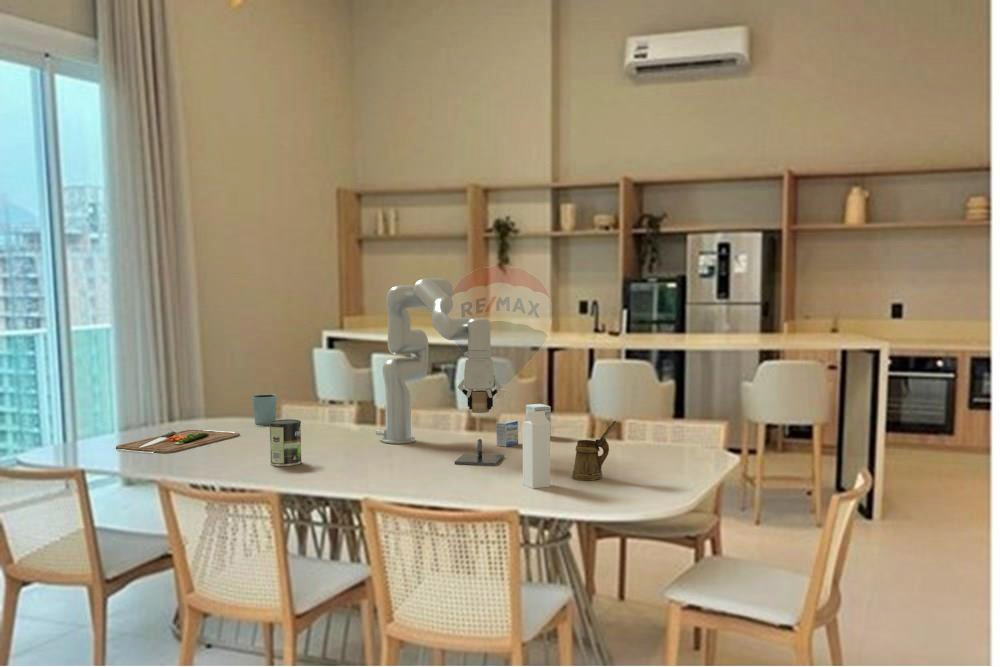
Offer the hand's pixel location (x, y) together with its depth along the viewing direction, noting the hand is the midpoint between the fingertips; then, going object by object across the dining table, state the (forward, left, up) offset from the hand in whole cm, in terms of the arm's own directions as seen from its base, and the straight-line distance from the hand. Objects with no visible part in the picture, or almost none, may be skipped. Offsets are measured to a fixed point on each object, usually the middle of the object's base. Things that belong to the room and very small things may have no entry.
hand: (480, 408), depth 286 cm
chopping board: (-120, +15, -19) cm, 123 cm away
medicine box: (+4, +30, -18) cm, 35 cm away
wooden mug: (+40, -19, -18) cm, 47 cm away
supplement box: (+13, +47, -18) cm, 52 cm away
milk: (+24, -32, -18) cm, 43 cm away
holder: (0, 0, -18) cm, 18 cm away
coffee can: (-63, -15, -18) cm, 67 cm away
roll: (0, 0, -1) cm, 1 cm away
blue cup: (-108, +61, -18) cm, 126 cm away
